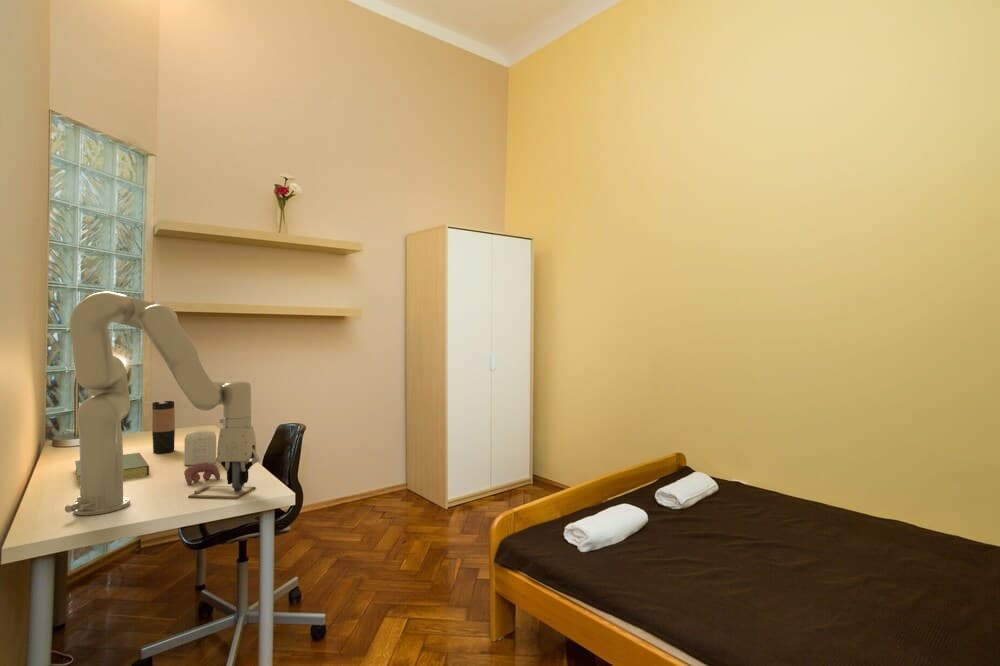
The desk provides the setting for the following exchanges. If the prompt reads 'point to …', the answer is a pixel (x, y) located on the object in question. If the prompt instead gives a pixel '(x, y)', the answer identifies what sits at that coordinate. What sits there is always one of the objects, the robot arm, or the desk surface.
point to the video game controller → (201, 467)
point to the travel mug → (163, 427)
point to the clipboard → (220, 492)
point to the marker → (236, 476)
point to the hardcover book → (128, 466)
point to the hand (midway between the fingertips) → (237, 482)
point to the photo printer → (200, 447)
